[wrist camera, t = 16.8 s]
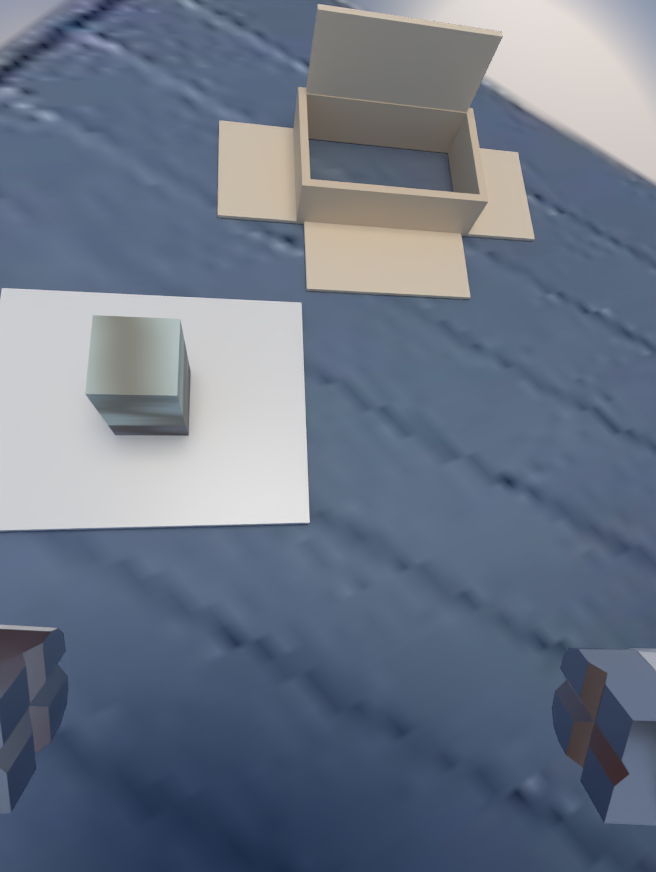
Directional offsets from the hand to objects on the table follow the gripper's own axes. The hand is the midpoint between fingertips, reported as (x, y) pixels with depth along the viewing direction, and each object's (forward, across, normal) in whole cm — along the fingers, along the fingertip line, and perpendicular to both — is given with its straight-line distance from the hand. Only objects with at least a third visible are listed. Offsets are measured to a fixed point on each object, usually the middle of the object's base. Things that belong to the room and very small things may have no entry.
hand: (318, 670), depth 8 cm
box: (+27, +10, +2) cm, 28 cm away
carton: (+38, -5, -12) cm, 41 cm away
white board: (+27, +10, +2) cm, 29 cm away
